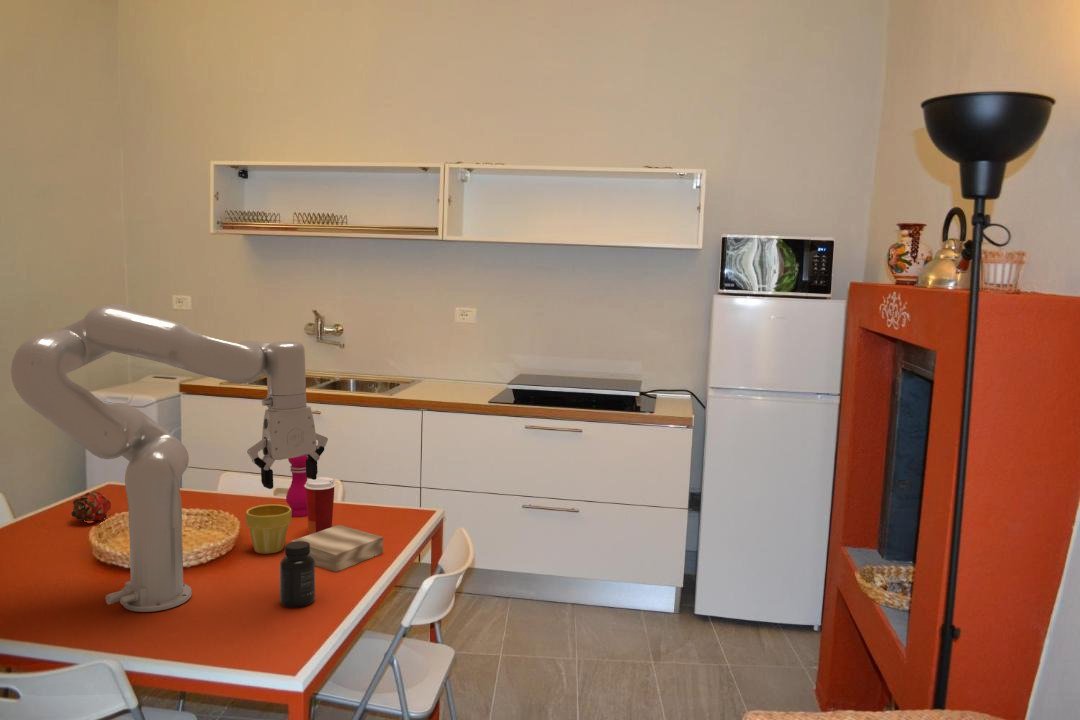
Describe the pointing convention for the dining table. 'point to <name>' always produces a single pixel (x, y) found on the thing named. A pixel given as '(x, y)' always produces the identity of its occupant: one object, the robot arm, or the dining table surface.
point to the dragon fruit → (91, 507)
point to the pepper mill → (298, 487)
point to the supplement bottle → (297, 575)
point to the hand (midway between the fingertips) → (290, 482)
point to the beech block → (342, 547)
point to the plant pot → (268, 527)
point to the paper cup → (319, 503)
